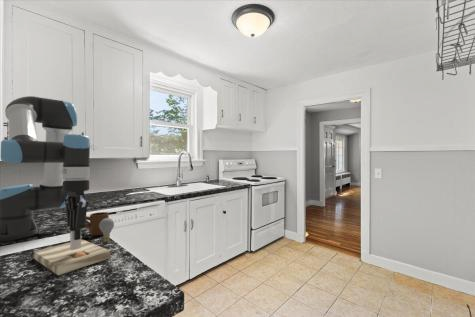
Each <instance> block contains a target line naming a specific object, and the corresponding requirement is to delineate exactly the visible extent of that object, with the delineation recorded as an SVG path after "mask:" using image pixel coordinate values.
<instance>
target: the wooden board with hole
mask: <svg viewBox="0 0 475 317" xmlns="http://www.w3.org/2000/svg"><path fill="white" fill-rule="evenodd" d="M79 252H84V253H85V254H86V255H85V256H82V257H79V258H75V259H74V257H75V255H76V254H77V253H79ZM33 259H34V260H35V261H37V262H38V263H39V264H40V265H43V266H44V267H45V268H46V269H48V270H49V271H51V272H53V274H55V275H57V276H60V275H64V274H67V273H70V272H73V271H76V270H78V269H81V268H84V267H87V266H90V265H93V264H96V263H100V262H102V261H105V260H108V259H111V250H110V249H108V248H104V247H103V246H100V245H97V244H95V243H92V242H89V241H87V240H85V239H82V238H81V248H79V249H75V250H70V242H67V243H63V244H57V245H55V246H49V247H45V248H43V249H39V250H35V251H33Z"/></svg>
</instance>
